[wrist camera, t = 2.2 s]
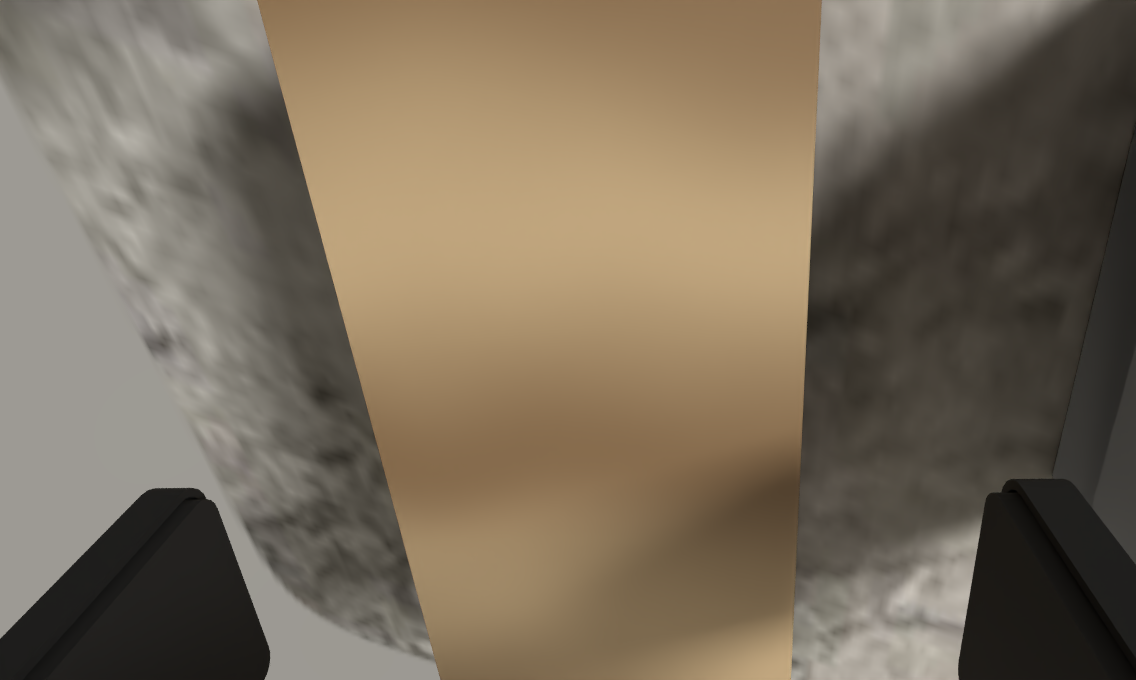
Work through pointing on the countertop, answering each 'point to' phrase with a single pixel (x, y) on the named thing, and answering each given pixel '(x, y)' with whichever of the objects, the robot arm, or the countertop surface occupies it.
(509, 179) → the shelf board
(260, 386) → the countertop surface
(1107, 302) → the cabinet stand
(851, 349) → the countertop surface
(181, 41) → the countertop surface
